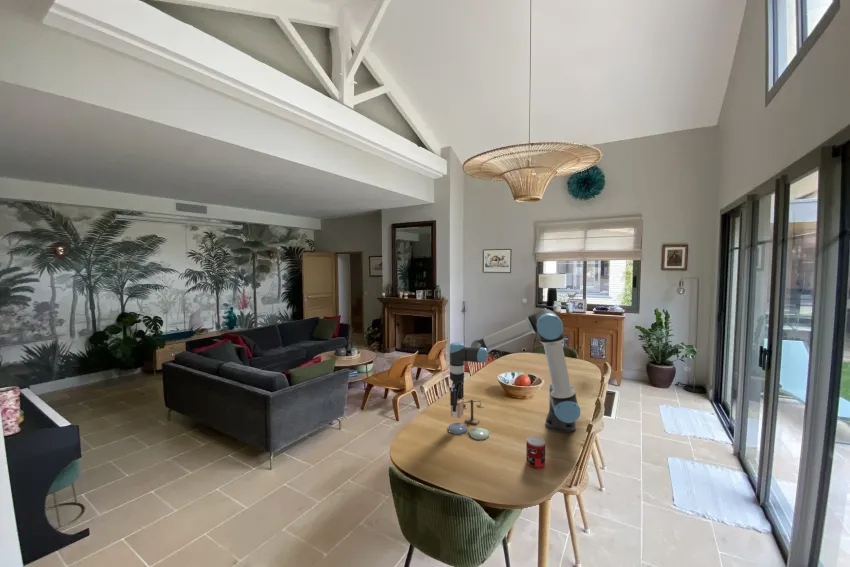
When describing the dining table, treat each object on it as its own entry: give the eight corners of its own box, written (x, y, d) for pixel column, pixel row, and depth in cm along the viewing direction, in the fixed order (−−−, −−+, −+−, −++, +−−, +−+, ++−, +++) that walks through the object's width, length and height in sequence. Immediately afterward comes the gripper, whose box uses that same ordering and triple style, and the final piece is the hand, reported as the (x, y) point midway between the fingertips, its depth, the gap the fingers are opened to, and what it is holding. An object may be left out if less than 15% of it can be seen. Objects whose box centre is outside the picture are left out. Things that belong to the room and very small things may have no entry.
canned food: (523, 459, 160) (523, 436, 159) (540, 458, 160) (541, 435, 159) (530, 470, 152) (530, 445, 151) (548, 468, 153) (548, 444, 152)
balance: (485, 423, 194) (484, 399, 193) (482, 426, 191) (482, 402, 189) (462, 418, 200) (461, 394, 199) (459, 421, 197) (459, 397, 196)
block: (463, 414, 188) (463, 399, 187) (459, 418, 184) (459, 403, 183) (454, 412, 190) (454, 397, 190) (450, 416, 186) (450, 401, 185)
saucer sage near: (491, 432, 184) (491, 430, 184) (485, 441, 175) (485, 439, 175) (473, 428, 189) (473, 426, 189) (466, 437, 180) (466, 434, 180)
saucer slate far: (469, 427, 190) (469, 425, 190) (462, 436, 181) (462, 433, 181) (452, 423, 194) (452, 421, 194) (445, 431, 186) (445, 429, 186)
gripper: (457, 365, 194) (457, 406, 197) (443, 376, 179) (443, 420, 181) (469, 367, 191) (470, 409, 193) (456, 378, 175) (457, 423, 177)
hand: (457, 414), depth 187 cm, fingers closed on block, 5 cm apart
